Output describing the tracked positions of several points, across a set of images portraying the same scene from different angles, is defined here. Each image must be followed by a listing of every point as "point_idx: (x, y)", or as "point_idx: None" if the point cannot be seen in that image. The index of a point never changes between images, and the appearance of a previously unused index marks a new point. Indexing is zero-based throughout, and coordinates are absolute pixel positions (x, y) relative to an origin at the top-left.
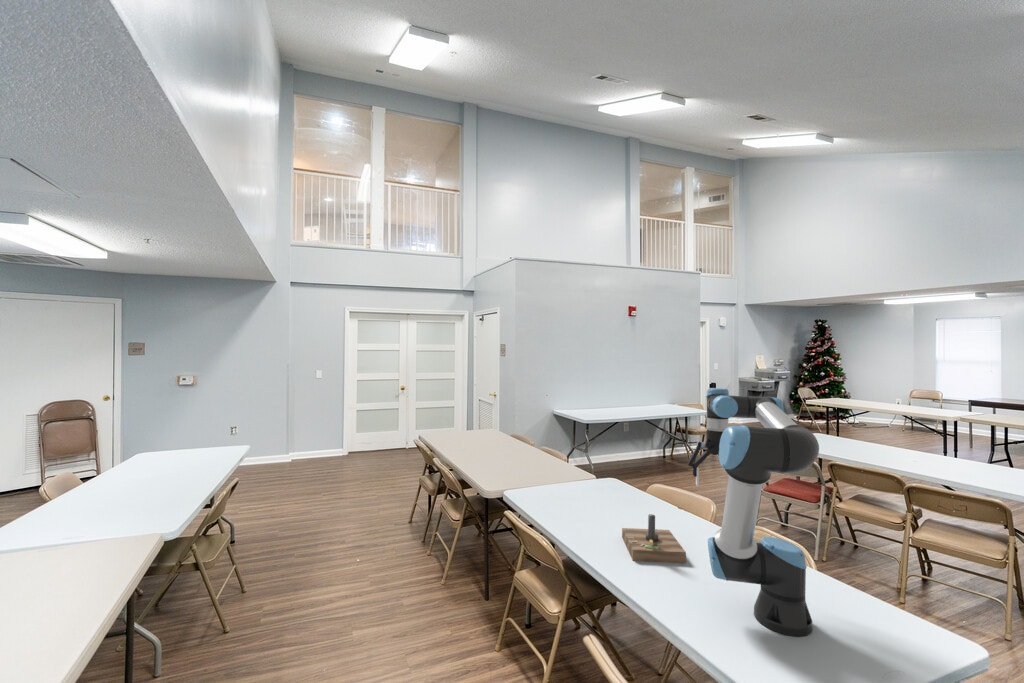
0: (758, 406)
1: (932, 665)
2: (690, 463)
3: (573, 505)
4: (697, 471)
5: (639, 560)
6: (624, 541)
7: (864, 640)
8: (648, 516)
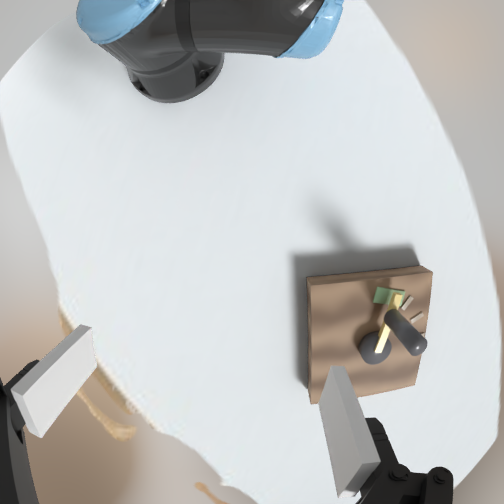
0: None
1: (46, 38)
2: (441, 484)
3: (429, 463)
4: (368, 442)
5: (408, 267)
6: None
7: (81, 55)
8: (425, 343)
